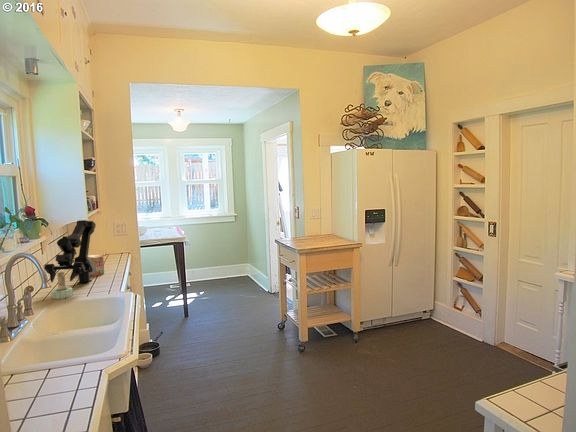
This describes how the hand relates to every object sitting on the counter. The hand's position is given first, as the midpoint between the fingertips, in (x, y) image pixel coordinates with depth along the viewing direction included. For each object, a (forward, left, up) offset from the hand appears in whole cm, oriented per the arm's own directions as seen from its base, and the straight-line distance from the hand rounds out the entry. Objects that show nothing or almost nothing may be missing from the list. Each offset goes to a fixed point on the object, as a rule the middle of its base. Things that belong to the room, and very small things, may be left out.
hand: (61, 281), depth 199 cm
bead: (-1, 0, -8) cm, 8 cm away
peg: (-1, 0, -8) cm, 8 cm away
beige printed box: (-56, -9, -8) cm, 58 cm away
